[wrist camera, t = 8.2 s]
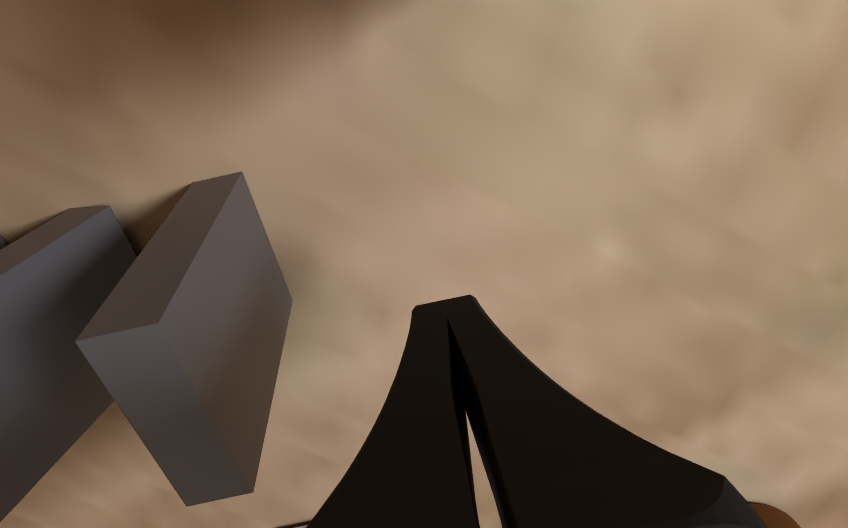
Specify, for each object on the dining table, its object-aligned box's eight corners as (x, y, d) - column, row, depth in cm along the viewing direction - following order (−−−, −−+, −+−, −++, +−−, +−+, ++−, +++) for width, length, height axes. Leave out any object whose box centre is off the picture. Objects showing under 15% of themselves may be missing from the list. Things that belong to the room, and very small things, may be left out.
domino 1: (176, 333, 19) (-30, 554, 13) (140, 332, 20) (-77, 546, 13) (109, 205, 17) (-192, 399, 10) (69, 208, 17) (-244, 395, 10)
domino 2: (292, 300, 19) (253, 492, 13) (249, 309, 19) (186, 506, 13) (241, 171, 17) (157, 323, 10) (192, 182, 17) (74, 341, 10)
